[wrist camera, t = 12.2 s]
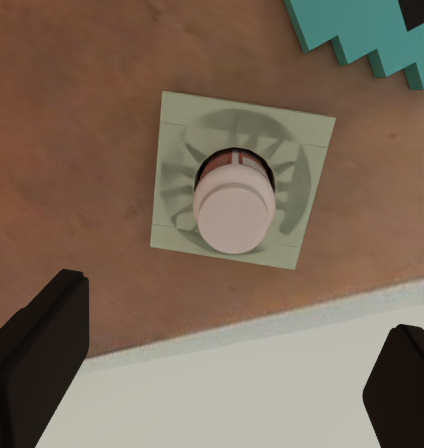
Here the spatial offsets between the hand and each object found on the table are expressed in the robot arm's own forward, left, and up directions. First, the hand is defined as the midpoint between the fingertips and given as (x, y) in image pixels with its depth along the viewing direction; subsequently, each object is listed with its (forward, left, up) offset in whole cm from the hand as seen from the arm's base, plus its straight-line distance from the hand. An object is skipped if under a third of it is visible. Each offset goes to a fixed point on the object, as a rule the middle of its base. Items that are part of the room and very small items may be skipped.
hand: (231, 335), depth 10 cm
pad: (+1, 0, -23) cm, 23 cm away
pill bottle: (+1, 0, -23) cm, 23 cm away
